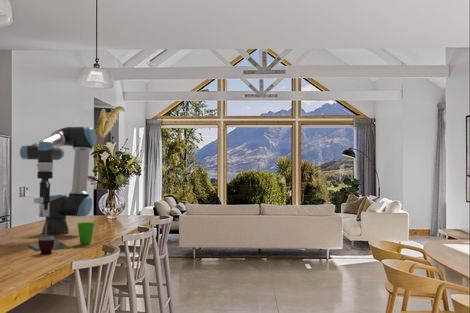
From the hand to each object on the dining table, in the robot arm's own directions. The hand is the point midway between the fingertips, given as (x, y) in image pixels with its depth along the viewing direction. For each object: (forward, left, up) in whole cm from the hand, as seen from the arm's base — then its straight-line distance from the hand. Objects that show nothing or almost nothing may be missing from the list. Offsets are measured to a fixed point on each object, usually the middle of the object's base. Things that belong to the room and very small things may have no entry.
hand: (44, 215), depth 281 cm
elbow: (+1, 0, 0) cm, 1 cm away
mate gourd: (+6, +33, -15) cm, 36 cm away
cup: (-19, +10, -15) cm, 26 cm away
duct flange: (0, +13, -15) cm, 20 cm away
